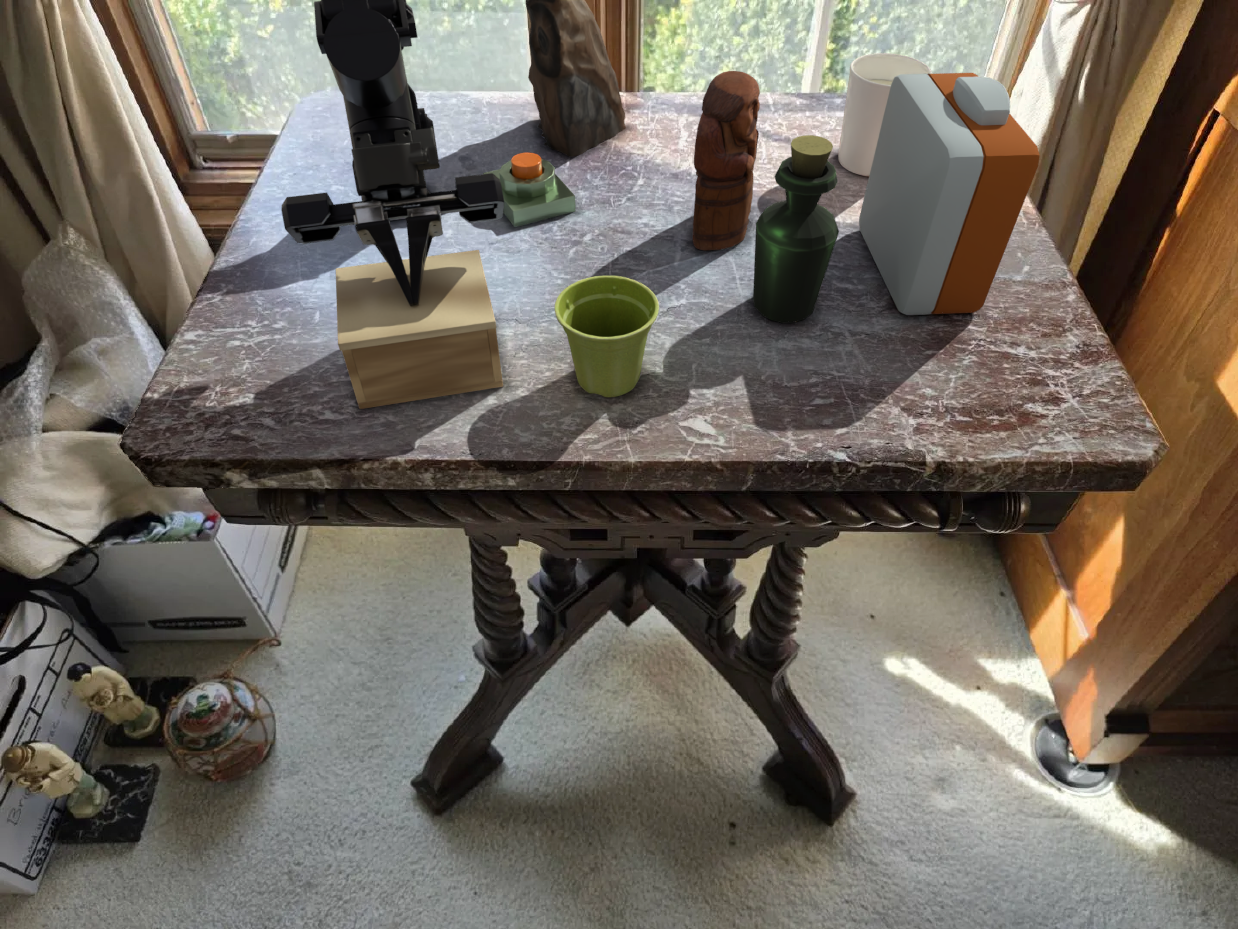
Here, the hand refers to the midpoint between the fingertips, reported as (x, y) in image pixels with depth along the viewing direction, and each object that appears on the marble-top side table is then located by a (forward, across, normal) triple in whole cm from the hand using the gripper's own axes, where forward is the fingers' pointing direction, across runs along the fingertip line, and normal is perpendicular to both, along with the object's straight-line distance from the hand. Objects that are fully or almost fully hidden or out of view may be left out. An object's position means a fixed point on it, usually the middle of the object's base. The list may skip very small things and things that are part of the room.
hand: (414, 304), depth 76 cm
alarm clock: (+2, +55, +11) cm, 56 cm away
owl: (-27, +25, +39) cm, 53 cm away
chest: (+4, 0, +8) cm, 9 cm away
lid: (-1, 0, +2) cm, 2 cm away
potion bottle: (+4, +38, +9) cm, 39 cm away
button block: (-16, +15, +28) cm, 35 cm away
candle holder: (-15, +60, +28) cm, 68 cm away
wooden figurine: (-7, +36, +20) cm, 42 cm away
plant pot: (+9, +17, +4) cm, 20 cm away
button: (-18, +15, +25) cm, 35 cm away
